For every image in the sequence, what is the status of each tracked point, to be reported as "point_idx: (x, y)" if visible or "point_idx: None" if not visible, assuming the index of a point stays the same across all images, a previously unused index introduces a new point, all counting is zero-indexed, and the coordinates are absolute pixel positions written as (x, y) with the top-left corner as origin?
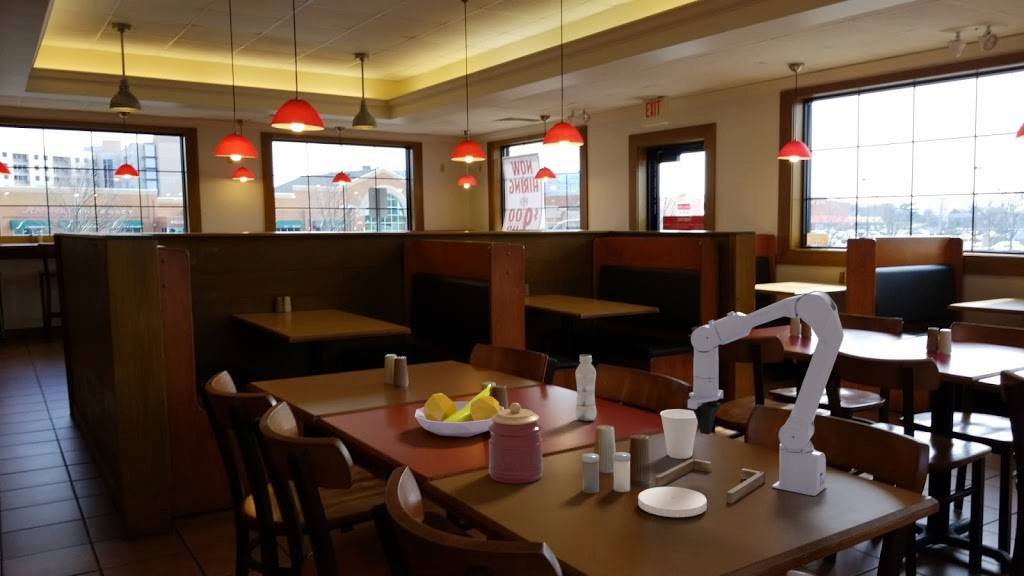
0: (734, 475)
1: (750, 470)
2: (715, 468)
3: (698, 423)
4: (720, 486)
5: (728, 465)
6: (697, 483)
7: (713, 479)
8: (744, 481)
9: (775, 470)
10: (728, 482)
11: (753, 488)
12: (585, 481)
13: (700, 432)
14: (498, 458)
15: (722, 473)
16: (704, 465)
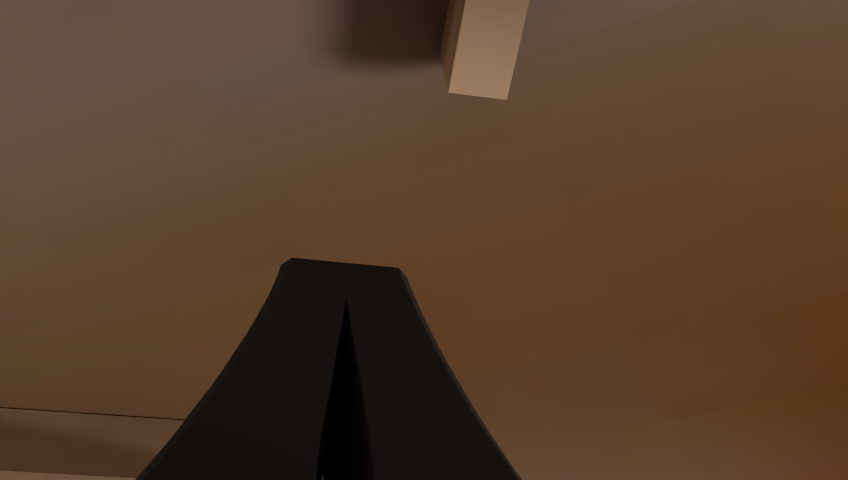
0: (462, 265)
1: None
2: (606, 65)
3: (222, 380)
4: (96, 257)
5: (751, 143)
6: (23, 61)
7: (246, 153)
8: (90, 476)
9: (717, 449)
10: (244, 278)
11: None
12: None
13: (283, 266)
14: None
15: (471, 168)
16: (457, 19)
